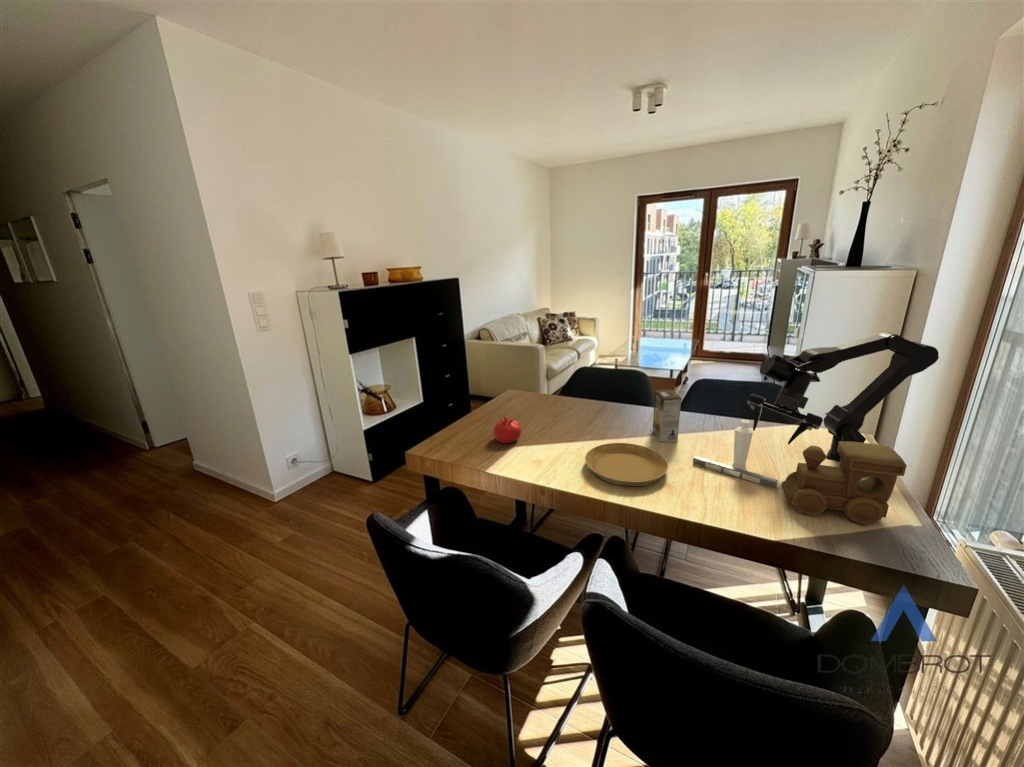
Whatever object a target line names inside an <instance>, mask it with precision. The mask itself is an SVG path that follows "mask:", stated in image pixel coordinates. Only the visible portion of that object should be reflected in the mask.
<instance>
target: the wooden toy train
mask: <svg viewBox="0 0 1024 767" xmlns="http://www.w3.org/2000/svg"><path fill="white" fill-rule="evenodd" d="M837 452H838V454H839V455H840V457H841V458H840V461H839V463H838V464H839V465H838V467H837V466H832V465H831V466H830V465H823V464H822V463H823V462H824V461H825V460H826V459H827V457H826V455H827V454H825V452H824V450H823V449H822V447H820V446H818V445H809V446H808V447H807V448H805V449H803V451H802V455H803V459H804V461H805V462H798V463H797V465H796V466H797V467H796V469H795V471H793V472H791V473H789V474H788V475H787V477H786V478H785V480H782V482H781V489H782V493H783V495H784V498H785V501H786V502H789V503H791V504H792V506H793V508H794V510H796V511H797V512H799V513H801V514H802V515H805V516H817V515H821V514H822V513H824V512H825V510H826V509H829V510H837V511H842V512H844V514H845V516H846V517H847V518H848V519H849V520H850V521H852V522H853V523H855V524H858V525H864V526H865V525H866V526H868V525H870V526H871V525H874V524H877V523H879V521H881V520H882V518H887V514H888V511H889V507H890V505H889V504H888V501H889V500H890V498H891V496H892V494H893V491H894V488H895V485H896V482H897V478H898V477H904V476H905V473H906V469H907V466H908V465H907V464H906V463H905V461H904V459H903V457H901V455H899V454H898V452H897V451H895V450H894V449H893V448H892V447H890V446H888V445H882V444H876V443H870V442H869V443H868V442H864V443H860V442H849V441H839V443H838V447H837ZM864 478H865V479H864Z"/></svg>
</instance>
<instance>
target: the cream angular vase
mask: <svg viewBox="0 0 1024 767" xmlns="http://www.w3.org/2000/svg"><path fill="white" fill-rule="evenodd" d="M749 424H750V421H749V420H746V419H741V420H740V426H738V427H737V428H735V429H734V438H733V439H734V441H733V444H734V445H733V463H732V465H731V466H732V467H736V468H739V469H742V470H746V471H747V466H746V465H747V460H748V456H749V451H750V448H751V444H752V438H753V434H754V432H753V429H752V428H750V427H749Z"/></svg>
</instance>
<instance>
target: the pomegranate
mask: <svg viewBox="0 0 1024 767" xmlns="http://www.w3.org/2000/svg"><path fill="white" fill-rule="evenodd" d="M509 418H510V417H509V416H503V419H502V418H498V419H499V421H497V423H496V424H495V425H494V428H493V436H494V438H495V440H496V441H497V442H499V443H501V444H510V443H513V442H516V441H517V440H519V439H520V436H521V433H522V427H521V425H520V423H519V422H518V421H516V419H514V418H511V419H509Z"/></svg>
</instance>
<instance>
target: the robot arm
mask: <svg viewBox="0 0 1024 767" xmlns="http://www.w3.org/2000/svg"><path fill="white" fill-rule="evenodd" d="M887 350H888V351H891V352H893V354H892V355H891V358H890V362H889V365H888V367H887V368H885V370H883V371H882V372H881V373H880V374H879V375H877V377H876V378H875V379H874V380H872V381H871V382H870V384H868V385H867V386H866V387H865V388H864V389H863V390H862V391H861V392H860V393H859V394H858V395H856V396H855V397H854V399H852V400H851V401H850V402H849V403H847V404H846V405H843V406H840V405H838V404H835V405H834V406H833V407H832V408H831V409H830V410H829V411H828V412H826V413H825V416H824V418H823V417H822V416H819V415H816V414H814V413H810V412H807V413H806V414H803V413H801V412H797V411H798V409H801V410H804V409H805V408H806V405H807V403H808V401H809V399H810V398H809V397H807V396H805V395H806V392H807V391H808V389H809V386H810V384H811V383H819V382H821V379H820V377H819V376H818V374H820V373H823V372H827V371H829V370H831V369H833V368H835V367H836V366H837V365H839V364H840V363H842V362H845V361H849V360H853V359H857V358H860V357H861V358H862V357H864V356H865V357H866V356H868V355H871V354H872V355H873V354H875V353H879V352H883V351H887ZM939 358H940V356H939V351H938V349H937V348H936V346H935V347H934V346H932V345H928V344H925V343H921V342H917V341H911V340H908V339H906V338H904V337H902V336H901V335H899V334H896V333H892V332H889V331H884V332H880V333H878V334H876V335H872V336H870V337H865V338H861V339H858V340H854V341H851V342H848V343H844V344H841V345H836V346H831V347H830V346H828V347H813V348H807V349H805V350H802V351H801V352H800V354H798V355H795V356H793V357H790V358H788V359H785V358H783V357H782V356H780V355H779V354H776V353H773V355H772V356H770V357H768V358H767V359H765V361H763V362H762V363H761V365H760V368H759V374H760V375H762V376H764V377H766V378H769V379H771V380H772V381H775V382H777V383H783V382H784V383H783V386H782V387H781V389H780V391H779V393H778V394H777V396H776V398H775V399H774V401H773V403H772V402H769V401H766V397H764V396H762V395H759V394H756V393H751V394H750V395H749V397H748V399H747V402H746V403H747V405H748V406H750V408H751V409H752V410H753V412H754V413H753V414H754V417H753V426H752V432H753V431H754V432H755V431H756V429H757V427H758V423H759V421H760V418H761V414H762V412H763V408H765V409H768V410H770V411H774V412H777V413H779V414H782V415H785V416H787V417H791V418H792V419H796V420H799V421H801V422H800V424H799V425H798V426H797V428H796V430H795V431H794V433H793V434H792V435H791V437H789V440H788V442H787V445H790V444H791V443H793V441H794V440H796V438H798V437H799V436H800V435H801V434H803V433H804V432H805V431H807V430H808V431H812V430H813V429H814V430H819V429H820V428H821V425H822V423H823V425H824V427H825V428H827V432H828V433H829V434H830V435H832V439H831V445H830V448H829V450H828V451H827V453H826V454H825V455H826V459H831V460H835V461H838V462H840V458H841V457H840V455H839V454H838V452H837V447H838V443H839V441H849V442H860V443H866V440H867V438H866V437H865V436H864V435H863V433H861V432H860V429H861V428H862V426H863V425H864V421H865V418H866V416H867V415H868V413H870V412H871V411H872V410H873V409H875V407H876V406H877V405H878V404H880V403H881V402H882V401H883V400H885V398H886V397H887V396H888V395H889V394H891V393H892V392H893V391H894V390H895V389H896V388H897V387H898V386H900V385H901V384H902V383H903V382H904V381H905V380H906V379H907V378H908V377H910V376H911V377H912V376H914V375H917V374H919V373H921V372H924V371H925V370H927V369H928V368H929V367H931V366H933V365H935V364H936V362H937V361H938V359H939Z"/></svg>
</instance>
